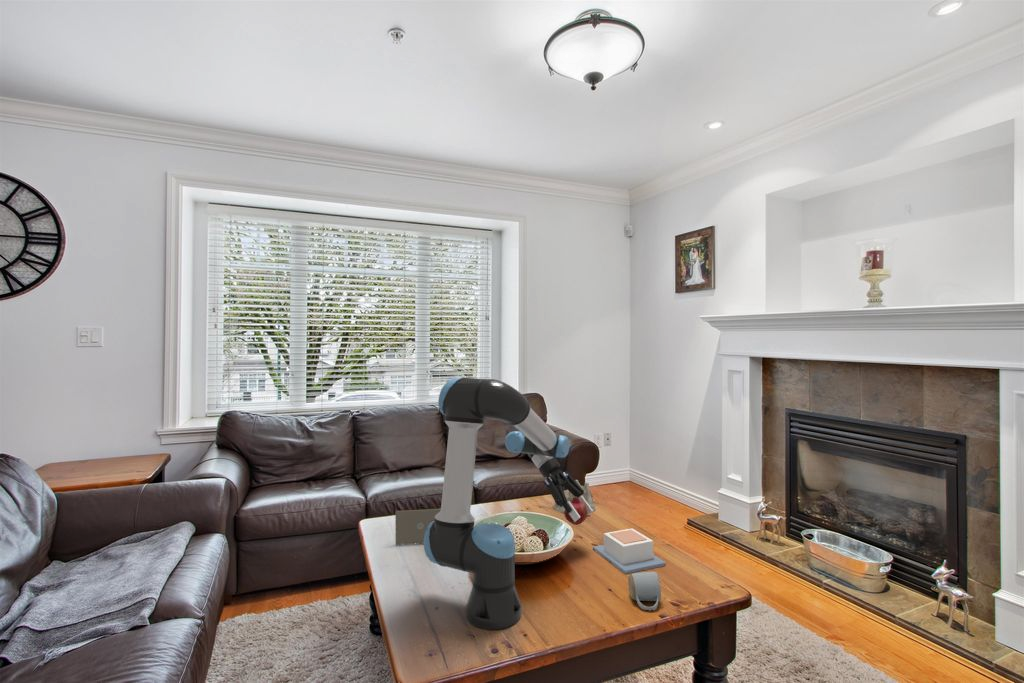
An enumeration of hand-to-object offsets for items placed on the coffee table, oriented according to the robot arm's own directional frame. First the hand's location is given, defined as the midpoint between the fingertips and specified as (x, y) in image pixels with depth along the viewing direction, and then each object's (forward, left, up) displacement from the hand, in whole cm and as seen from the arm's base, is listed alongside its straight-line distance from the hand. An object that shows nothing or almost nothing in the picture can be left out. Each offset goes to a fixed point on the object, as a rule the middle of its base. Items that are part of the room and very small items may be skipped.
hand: (584, 516), depth 174 cm
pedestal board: (-7, -13, -14) cm, 20 cm away
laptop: (+37, +50, -14) cm, 64 cm away
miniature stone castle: (+42, -20, -14) cm, 49 cm away
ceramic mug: (-33, -1, -14) cm, 36 cm away
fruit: (+3, +2, -4) cm, 5 cm away
